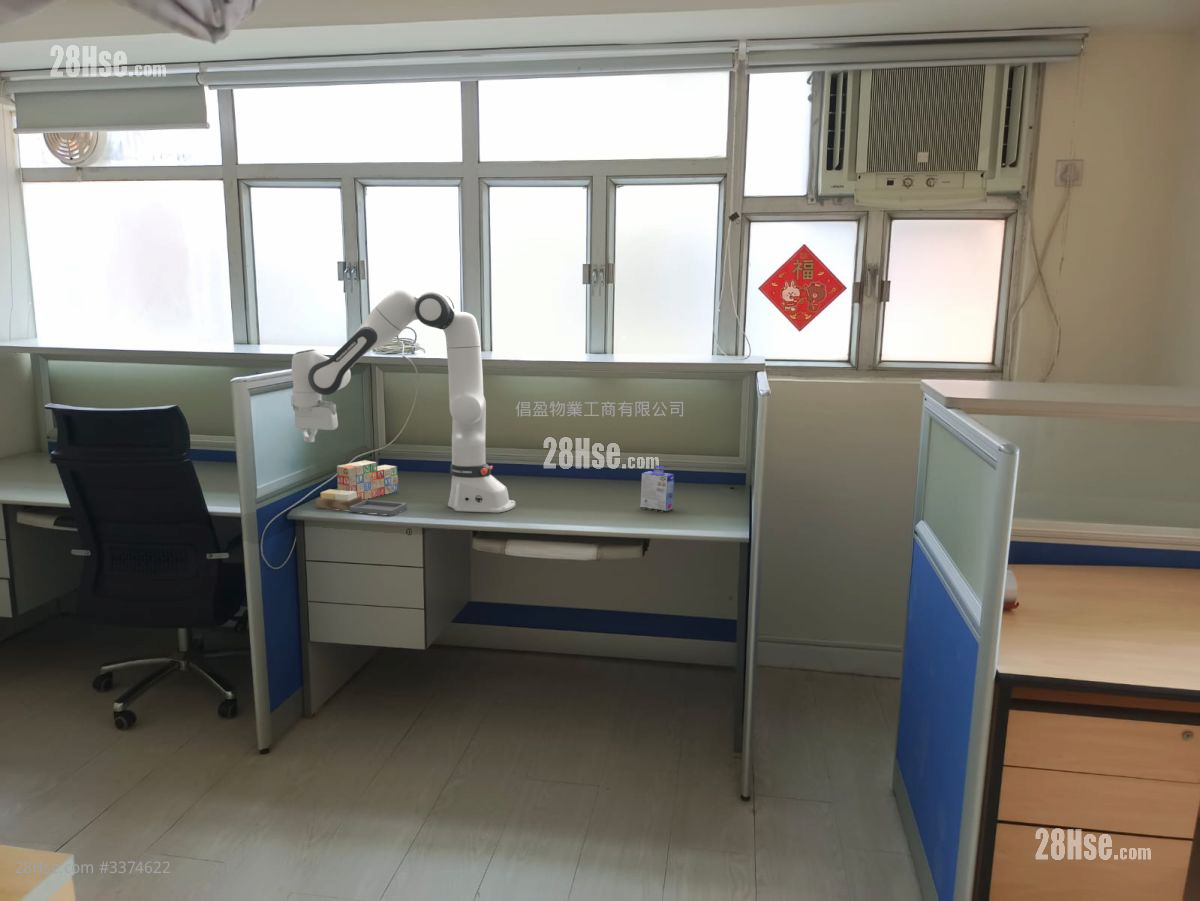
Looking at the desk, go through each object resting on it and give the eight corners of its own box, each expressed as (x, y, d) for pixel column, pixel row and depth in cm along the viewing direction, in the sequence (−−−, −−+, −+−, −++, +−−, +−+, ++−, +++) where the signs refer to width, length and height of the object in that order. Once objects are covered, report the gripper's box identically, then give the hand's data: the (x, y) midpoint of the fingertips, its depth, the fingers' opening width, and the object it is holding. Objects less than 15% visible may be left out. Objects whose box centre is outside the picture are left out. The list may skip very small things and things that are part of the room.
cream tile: (356, 497, 267) (356, 491, 267) (348, 500, 263) (348, 494, 262) (343, 496, 269) (343, 490, 268) (334, 499, 264) (334, 493, 264)
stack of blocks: (386, 489, 293) (385, 456, 291) (398, 492, 290) (397, 458, 287) (337, 500, 276) (336, 465, 273) (349, 503, 272) (348, 467, 270)
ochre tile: (342, 496, 269) (342, 490, 268) (334, 499, 264) (333, 493, 264) (329, 495, 270) (329, 489, 270) (320, 498, 265) (320, 492, 265)
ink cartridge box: (673, 509, 272) (675, 467, 269) (666, 512, 267) (667, 469, 264) (647, 505, 277) (648, 463, 274) (640, 508, 272) (641, 466, 270)
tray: (406, 508, 266) (406, 503, 266) (391, 516, 256) (391, 510, 256) (366, 505, 270) (366, 499, 269) (349, 512, 260) (349, 506, 260)
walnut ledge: (362, 505, 269) (361, 496, 269) (348, 511, 262) (348, 502, 261) (330, 502, 272) (329, 493, 272) (316, 508, 265) (315, 499, 264)
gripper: (341, 400, 264) (342, 442, 266) (286, 397, 269) (288, 438, 271) (329, 402, 258) (331, 445, 260) (274, 399, 263) (276, 441, 265)
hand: (309, 441), depth 266 cm, fingers closed
